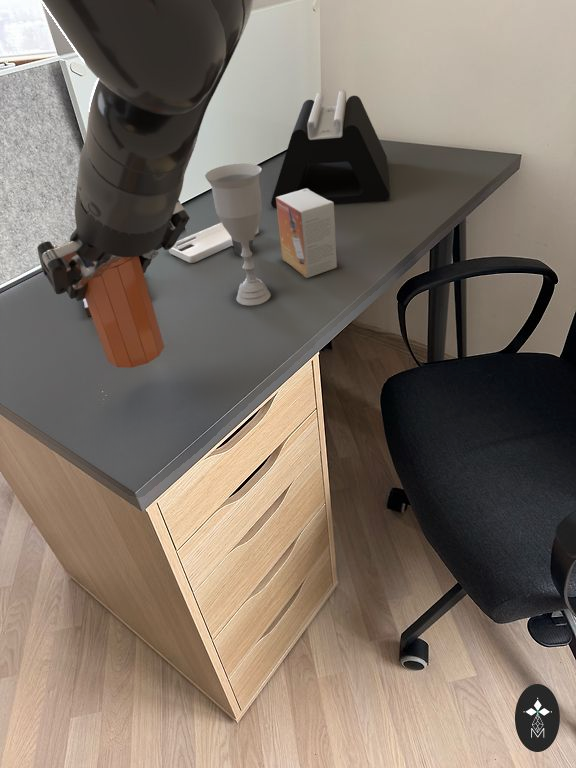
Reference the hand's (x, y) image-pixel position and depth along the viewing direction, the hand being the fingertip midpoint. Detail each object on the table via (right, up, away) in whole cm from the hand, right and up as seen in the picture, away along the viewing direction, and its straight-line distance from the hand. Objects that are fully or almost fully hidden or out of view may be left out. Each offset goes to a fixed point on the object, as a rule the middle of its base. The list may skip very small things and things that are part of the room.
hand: (106, 279), depth 59 cm
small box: (+22, +8, +31) cm, 39 cm away
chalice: (+14, +2, +24) cm, 28 cm away
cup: (+2, -7, +4) cm, 9 cm away
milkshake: (+11, +11, +36) cm, 40 cm away
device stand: (+28, +30, +58) cm, 71 cm away
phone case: (+6, +14, +41) cm, 44 cm away
